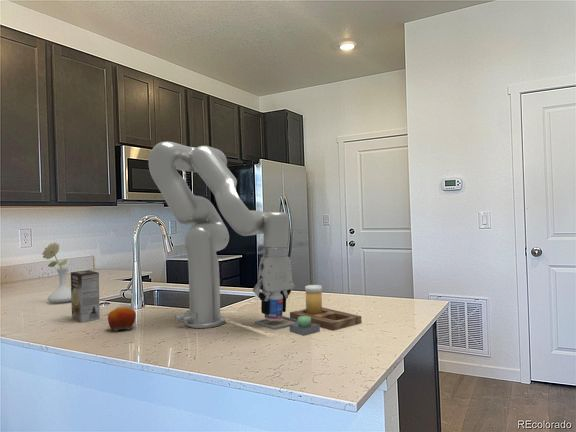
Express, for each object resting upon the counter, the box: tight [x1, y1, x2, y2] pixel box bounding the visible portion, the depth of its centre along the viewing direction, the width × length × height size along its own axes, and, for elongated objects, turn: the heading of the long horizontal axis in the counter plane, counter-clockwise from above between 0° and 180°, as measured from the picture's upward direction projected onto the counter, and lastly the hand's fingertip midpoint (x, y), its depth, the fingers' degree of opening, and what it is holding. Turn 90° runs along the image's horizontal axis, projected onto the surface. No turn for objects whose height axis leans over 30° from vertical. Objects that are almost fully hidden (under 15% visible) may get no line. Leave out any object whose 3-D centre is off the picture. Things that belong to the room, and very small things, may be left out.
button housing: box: [289, 322, 321, 336], centre depth 119 cm, size 6×6×3 cm
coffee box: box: [70, 270, 101, 323], centre depth 146 cm, size 9×6×16 cm
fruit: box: [107, 306, 137, 332], centre depth 131 cm, size 8×8×8 cm
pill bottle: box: [264, 291, 284, 322], centre depth 129 cm, size 6×5×10 cm
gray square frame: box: [254, 315, 298, 331], centre depth 129 cm, size 10×10×2 cm
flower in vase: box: [41, 242, 71, 303], centre depth 177 cm, size 13×11×25 cm
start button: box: [298, 316, 311, 326], centre depth 119 cm, size 4×4×2 cm
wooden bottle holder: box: [289, 306, 362, 331], centre depth 131 cm, size 12×19×3 cm, turn 39°
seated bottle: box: [304, 284, 323, 315], centre depth 134 cm, size 5×5×10 cm
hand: (273, 311), depth 129 cm, fingers closed on pill bottle, 5 cm apart
